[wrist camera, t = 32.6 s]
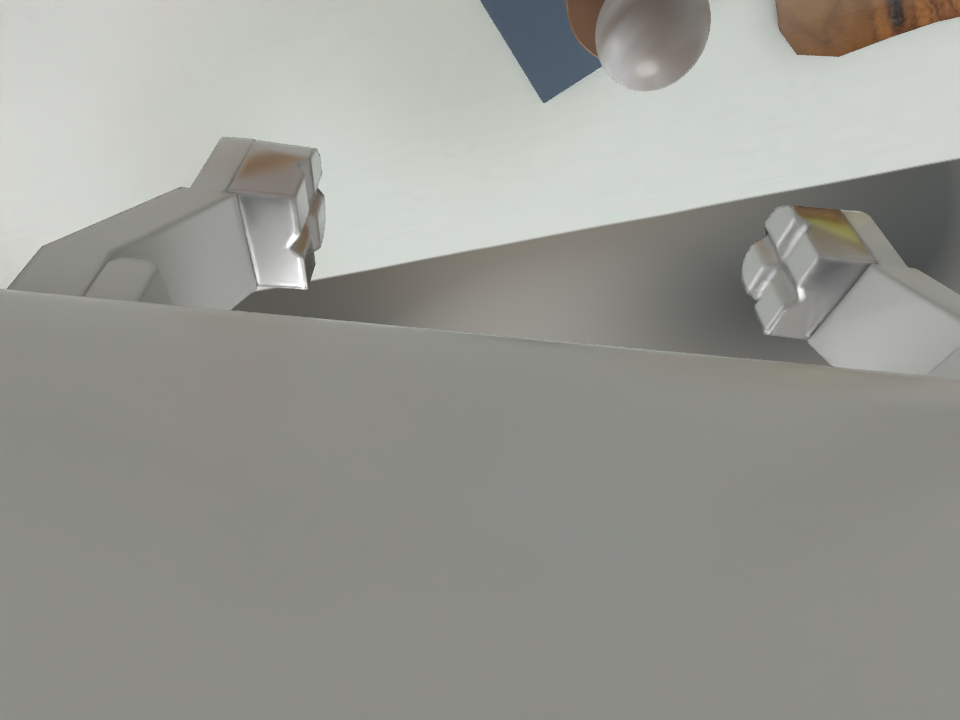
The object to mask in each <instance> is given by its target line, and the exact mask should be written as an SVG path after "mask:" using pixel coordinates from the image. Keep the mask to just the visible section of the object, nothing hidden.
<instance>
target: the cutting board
mask: <svg viewBox="0 0 960 720" xmlns="http://www.w3.org/2000/svg"><path fill="white" fill-rule="evenodd" d="M775 1H776V7H777V17H778V26H779V30H780V32H781V33H782V34H783V36H784V37H785V39H786V40H787V41H788V43H789V44H790V46H791V47H792V48H793V50H794V51H795V53H796V54H797V55H815V56H836V57H839V56H842V55H845V54H847V53H850V52H853V51H855V50H858V49H861V48H863V47H866V46H868V45H871V44H874V43H876V42H879V41H882V40H884V39H887V38H890V37H893V36H896V35H899V34H902V33H905V32H908V31H911V30H914V29H917V28H920V27H923V26H926V25H929V24H932V23H935V22H938V21H942V20H947V19H951V18H956V17H960V0H775Z"/></svg>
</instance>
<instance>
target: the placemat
mask: <svg viewBox="0 0 960 720" xmlns="http://www.w3.org/2000/svg"><path fill="white" fill-rule="evenodd" d="M480 1H481V2H482V4H483V5H484V7H485V9H486V10H487V12H488V14H489V15H490V17H491V18H492V20H493V22H494V23H495V25H496V27H497V28H498V30H499V32H500V33H501V35H502V36H503V38H504V40H505V41H506V43H507V45H508V46H509V48H510V49H511V51H512V53H513V54H514V56H515V58H516V59H517V61H518V63H519V64H520V66H521V67H522V69H523V71H524V72H525V74H526V76H527V77H528V79H529V80H530V82H531V84H532V85H533V87H534V89H535V90H536V92H537V94H538V95H539V97H540V98H541V100H542V102H543V103H545V102H547V101H548V100H550V99H552V98H553V97H555V96H556V95H558V94H559V93H561V92H562V91H564V90H565V89H567V88H569V87H570V86H572V85H573V84H575V83H576V82H578V81H579V80H581V79H583V78H584V77H586V76H587V75H589V74H590V73H592V72H593V71H595V70H597V69H598V68H600V67H601V66H602V64H601V62H600V60H599V58H597V57H595V56H593V55H592V54H590V53H589V52H588V51H586V50H585V49H584V48H583V47H582V46H581V44H580V43H579V42H578V40H577V39H576V37H575V35H574V33H573V32H572V29H571V26H570V24H569V20H568V16H567V12H566V8H565V3H564V0H480Z"/></svg>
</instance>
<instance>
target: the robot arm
mask: <svg viewBox="0 0 960 720" xmlns="http://www.w3.org/2000/svg"><path fill="white" fill-rule="evenodd" d="M321 175H322V168H321V160H320V154H319V152H318V149H317V148H310V147H303V146H295V145H288V144H281V143H274V142H267V141H259V140H257V141H256V140H254V139H246V138H236V137H222V138H221V139H220V140H219V142H218V143H217V145H216V146H215V148H214V150H213V151H212V153H211V155H210V156H209V158H208V159H207V161H206V163H205V164H204V166H203V168H202V169H201V171H200V172H199V174H198V176H197V177H196V179H195V181H194V182H193V184H192V185H191V187H190V188H185V187H179V188H177V189H175V190H172V191H170V192H168V193H165V194H163V195H161V196H158V197H156V198H154V199H151V200H149V201H147V202H144V203H142V204H140V205H137V206H135V207H133V208H130V209H128V210H126V211H123V212H121V213H119V214H116V215H114V216H112V217H109V218H107V219H105V220H102V221H100V222H98V223H95V224H93V225H91V226H88V227H86V228H84V229H81V230H79V231H77V232H74V233H72V234H70V235H67V236H65V237H63V238H60V239H58V240H56V241H53V242H51V243H49V244H47V245H44V246H42V247H41V248H40V249H39V250H38V251H37V253H36V254H35V255H34V256H33V258H32V259H31V260H30V261H29V262H28V264H27V265H26V266H25V267H24V269H23V270H22V271H21V272H20V273H19V275H18V276H17V277H16V278H15V280H14V281H13V282H12V283H11V284H10V286H9V287H8V288H7V289H0V720H960V295H959V294H957V293H956V292H954V291H952V290H951V289H949V288H947V287H946V286H944V285H942V284H941V283H939V282H937V281H936V280H934V279H932V278H931V277H929V276H927V275H926V274H924V273H922V272H921V271H919V270H917V269H914V268H908V267H907V266H906V264H905V263H904V262H903V260H902V259H901V258H900V256H899V255H898V254H897V252H896V251H895V250H894V248H893V247H892V246H891V244H890V243H889V241H888V240H887V239H886V237H885V236H884V235H883V233H882V232H881V231H880V229H879V228H878V227H877V225H876V224H875V223H874V221H873V220H872V219H871V217H870V216H869V215H868V214H865V213H863V212H861V211H847V210H835V209H825V208H814V207H803V206H792V205H779V206H778V207H777V208H776V209H775V210H774V211H773V212H772V213H771V214H770V216H769V217H768V219H767V221H766V222H765V224H764V225H765V230H766V235H765V236H764V237H762V238H760V239H759V240H757V241H756V242H754V243H753V244H752V245H751V247H750V249H749V251H748V252H747V254H746V256H745V258H744V262H743V267H742V272H741V274H742V283H743V286H744V288H745V291H746V292H747V293H748V294H749V295H750V296H752V297H753V298H754V299H755V300H757V303H756V305H755V307H754V308H753V309H754V312H755V314H756V316H757V318H758V321H759V323H760V325H761V328H762V330H763V332H764V334H766V335H774V336H783V337H791V338H799V339H807V340H808V341H807V342H808V343H809V344H810V345H811V346H812V347H813V348H814V349H815V350H816V351H817V352H818V353H819V354H820V355H821V356H822V357H823V358H824V359H825V360H827V362H829V364H830V365H832V366H833V367H832V366H820V365H809V364H799V363H789V362H778V361H767V360H756V359H746V358H735V357H724V356H714V355H713V356H712V355H703V354H692V353H681V352H671V351H660V350H649V349H638V348H628V347H617V346H606V345H596V344H585V343H574V342H563V341H553V340H542V339H532V338H521V337H510V336H500V335H489V334H478V333H468V332H456V331H446V330H436V329H424V328H414V327H403V326H393V325H382V324H370V323H360V322H350V321H339V320H328V319H318V318H307V317H297V316H285V315H275V314H264V313H253V312H243V311H232V310H231V309H232V308H233V307H235V306H236V305H237V304H238V303H239V302H241V301H242V300H243V299H244V298H246V297H247V296H248V295H249V294H251V293H252V292H253V291H254V290H256V289H257V286H265V287H279V288H292V289H308V286H309V283H310V280H311V277H312V273H313V270H314V267H315V257H314V251H316V250H318V249H319V248H320V247H321V244H322V240H323V237H324V228H325V198H324V195H323V194H322V192H321V191H320V190H319V189H318V188H317V187H318V184H319V181H320V178H321Z"/></svg>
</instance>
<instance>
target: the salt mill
mask: <svg viewBox="0 0 960 720" xmlns="http://www.w3.org/2000/svg"><path fill="white" fill-rule="evenodd" d="M564 3H565V8H566V12H567V16H568V20H569V24H570V26H571V29H572V32H573V33H574V35H575V37H576V39H577V40H578V42H579V43H580V44H581V46H582V47H583V48H584V49H585V50H586V51H588V52H589V53H590V54H592V55H593V56H595V57H597V58H599V60H600V62H601V64H602V67H603V68H604V70H605V71H606V73H607V74H608V75H609V76H610V77H611V78H612V79H613V80H614V81H615V82H617V83H618V84H620V85H622V86H623V87H625V88H628V89H631V90H636V91H654V90H658V89H662V88H665V87H667V86H669V85H671V84H673V83H675V82H676V81H678V80H679V79H681V78H682V77H683V76H684V75H685V74H687V73H688V72H689V70H690V69H691V68H692V67H693V66H694V65H695V63H696V62H697V61H698V59H699V57H700V56H701V54H702V52H703V50H704V47H705V45H706V42H707V39H708V35H709V31H710V23H711V12H710V6H709V1H708V0H564Z"/></svg>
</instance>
